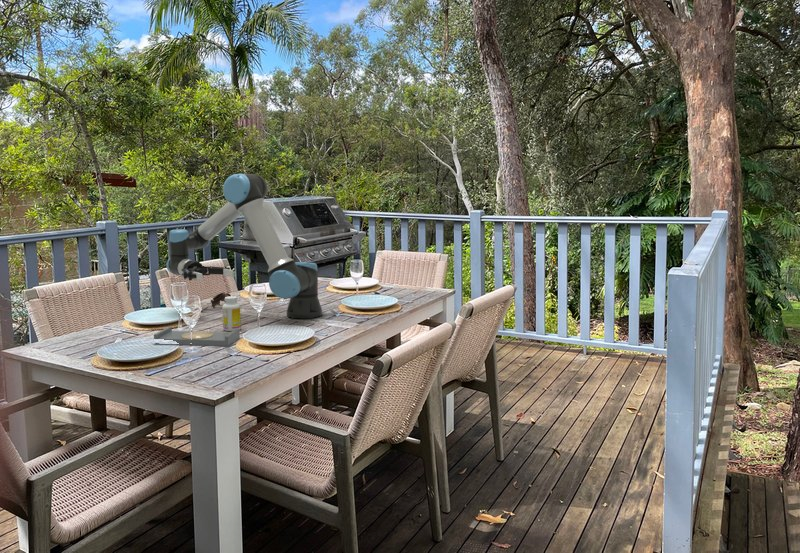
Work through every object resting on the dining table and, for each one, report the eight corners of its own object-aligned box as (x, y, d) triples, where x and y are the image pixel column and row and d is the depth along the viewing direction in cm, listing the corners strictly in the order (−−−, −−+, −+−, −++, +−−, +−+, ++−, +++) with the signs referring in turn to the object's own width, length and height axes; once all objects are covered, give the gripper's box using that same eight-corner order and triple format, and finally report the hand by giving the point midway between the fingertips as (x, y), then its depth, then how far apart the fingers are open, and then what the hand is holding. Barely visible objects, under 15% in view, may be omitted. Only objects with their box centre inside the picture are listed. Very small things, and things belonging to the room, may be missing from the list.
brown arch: (233, 311, 285) (222, 296, 283) (215, 320, 288) (205, 305, 285) (240, 300, 296) (231, 285, 294) (224, 308, 298) (214, 293, 296)
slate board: (239, 337, 238) (239, 328, 237) (228, 346, 226) (228, 336, 225) (168, 335, 240) (168, 326, 239) (154, 344, 228) (153, 334, 227)
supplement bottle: (243, 327, 253) (242, 295, 251) (238, 331, 247) (237, 298, 245) (226, 327, 253) (225, 295, 251) (221, 331, 247) (219, 298, 245)
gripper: (218, 275, 278) (245, 281, 263) (162, 281, 260) (188, 288, 245) (217, 257, 276) (244, 263, 262) (161, 262, 259) (187, 269, 244)
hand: (217, 275), depth 254 cm, fingers open, 13 cm apart
